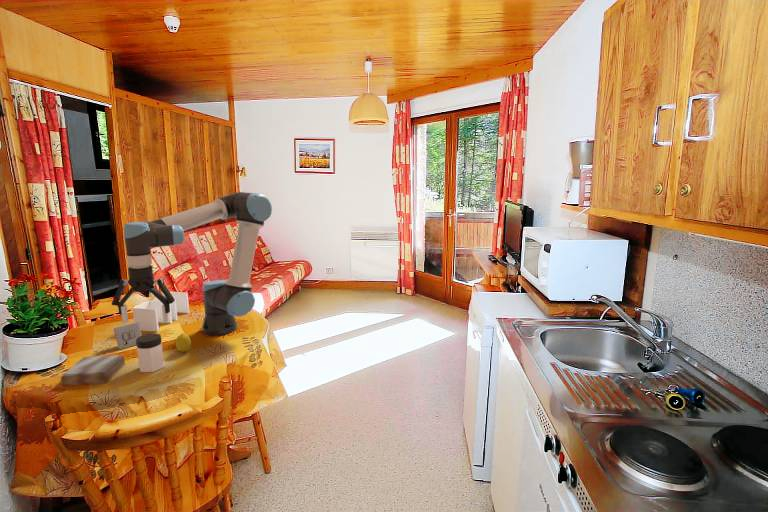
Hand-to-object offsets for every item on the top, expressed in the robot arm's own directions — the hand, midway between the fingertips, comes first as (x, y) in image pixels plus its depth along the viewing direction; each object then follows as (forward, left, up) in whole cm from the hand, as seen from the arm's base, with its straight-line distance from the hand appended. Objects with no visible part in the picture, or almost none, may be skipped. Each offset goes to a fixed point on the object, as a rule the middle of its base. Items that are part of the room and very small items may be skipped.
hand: (145, 322), depth 150 cm
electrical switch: (+17, -22, -18) cm, 33 cm away
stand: (+18, +3, -18) cm, 26 cm away
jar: (0, 0, -18) cm, 18 cm away
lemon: (-8, -12, -18) cm, 24 cm away
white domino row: (+12, -49, -19) cm, 54 cm away
